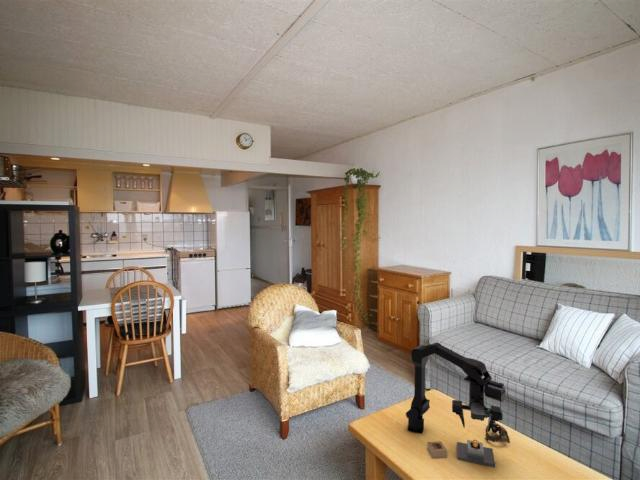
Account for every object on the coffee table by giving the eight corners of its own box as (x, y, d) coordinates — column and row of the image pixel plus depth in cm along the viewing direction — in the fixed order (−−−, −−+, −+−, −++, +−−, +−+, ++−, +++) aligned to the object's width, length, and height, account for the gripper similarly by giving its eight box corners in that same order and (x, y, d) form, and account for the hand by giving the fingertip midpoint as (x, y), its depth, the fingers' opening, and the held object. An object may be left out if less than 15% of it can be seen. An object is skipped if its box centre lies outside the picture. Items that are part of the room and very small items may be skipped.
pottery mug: (515, 447, 152) (509, 434, 150) (494, 455, 154) (487, 442, 151) (502, 424, 163) (496, 412, 161) (483, 431, 165) (476, 419, 163)
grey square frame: (467, 455, 145) (467, 448, 145) (466, 446, 151) (467, 439, 150) (483, 458, 143) (483, 451, 143) (482, 449, 149) (482, 442, 148)
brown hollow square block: (432, 458, 145) (433, 451, 145) (427, 448, 151) (427, 442, 151) (447, 457, 146) (447, 450, 146) (440, 447, 152) (440, 441, 152)
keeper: (457, 459, 145) (457, 445, 144) (456, 444, 154) (457, 430, 153) (495, 467, 140) (495, 452, 139) (492, 451, 149) (492, 437, 149)
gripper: (452, 399, 140) (452, 436, 141) (505, 406, 134) (504, 446, 135) (452, 386, 151) (451, 421, 152) (500, 392, 144) (500, 429, 146)
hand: (476, 429), depth 146 cm, fingers open, 9 cm apart
